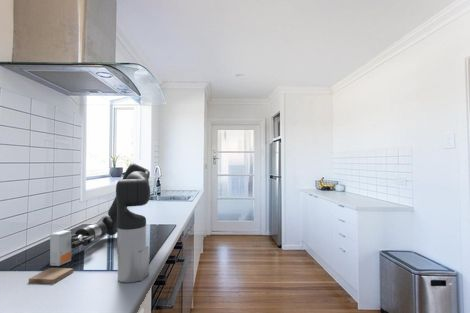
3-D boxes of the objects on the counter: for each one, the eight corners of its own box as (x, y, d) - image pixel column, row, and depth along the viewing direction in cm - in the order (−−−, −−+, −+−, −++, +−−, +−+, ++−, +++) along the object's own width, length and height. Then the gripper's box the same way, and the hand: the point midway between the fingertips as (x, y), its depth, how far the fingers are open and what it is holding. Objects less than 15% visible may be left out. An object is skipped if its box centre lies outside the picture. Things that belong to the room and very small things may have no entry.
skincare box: (59, 266, 104) (59, 234, 104) (49, 265, 105) (49, 234, 105) (72, 260, 110) (71, 230, 110) (62, 259, 111) (62, 230, 111)
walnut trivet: (73, 271, 99) (73, 268, 99) (54, 283, 90) (54, 279, 90) (49, 271, 100) (49, 267, 100) (28, 282, 91) (28, 278, 91)
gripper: (73, 225, 125) (45, 236, 109) (103, 226, 123) (78, 236, 107) (73, 242, 125) (45, 255, 109) (103, 243, 123) (79, 256, 107)
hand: (62, 245), depth 108 cm, fingers open, 8 cm apart
